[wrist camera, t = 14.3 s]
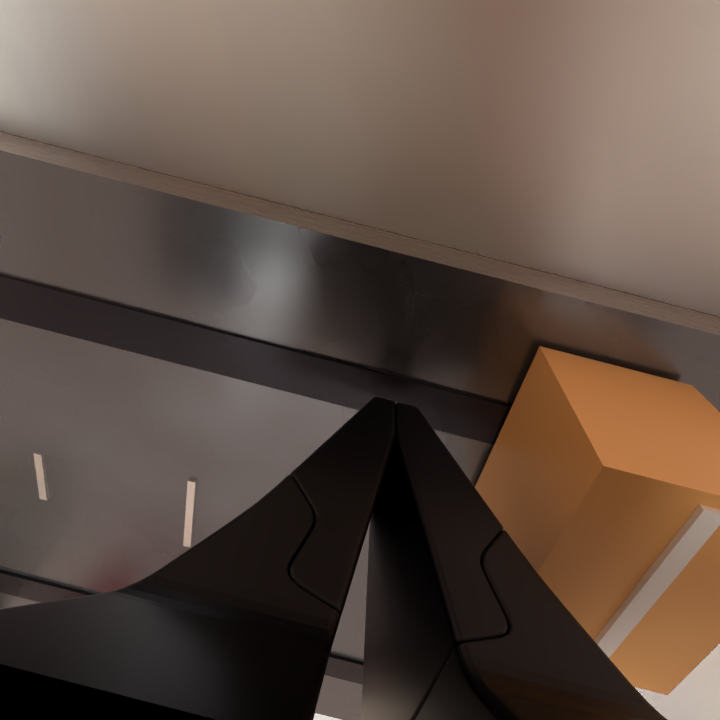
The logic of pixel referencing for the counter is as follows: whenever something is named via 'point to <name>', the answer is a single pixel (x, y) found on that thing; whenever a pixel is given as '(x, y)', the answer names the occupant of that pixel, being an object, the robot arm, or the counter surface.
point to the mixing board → (247, 363)
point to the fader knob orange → (616, 508)
